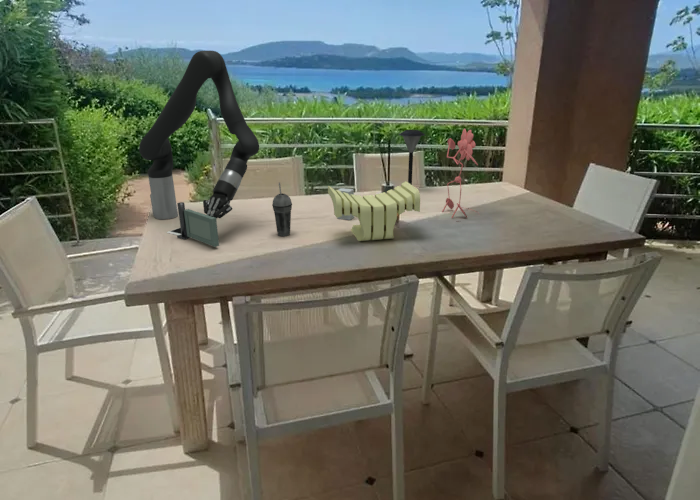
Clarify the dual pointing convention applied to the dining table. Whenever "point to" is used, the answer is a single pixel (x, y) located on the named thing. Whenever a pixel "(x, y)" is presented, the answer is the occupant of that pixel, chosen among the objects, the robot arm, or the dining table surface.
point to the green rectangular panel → (201, 227)
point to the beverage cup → (282, 213)
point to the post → (182, 221)
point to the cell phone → (175, 231)
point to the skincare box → (350, 191)
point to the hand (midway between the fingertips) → (206, 226)
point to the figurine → (465, 151)
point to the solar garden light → (411, 147)
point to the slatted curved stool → (376, 210)
